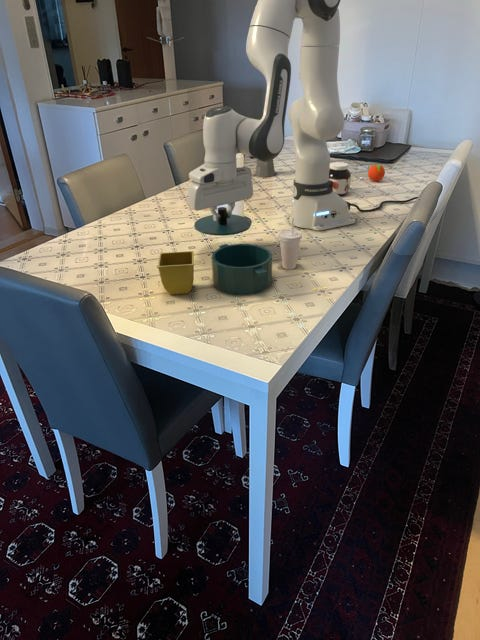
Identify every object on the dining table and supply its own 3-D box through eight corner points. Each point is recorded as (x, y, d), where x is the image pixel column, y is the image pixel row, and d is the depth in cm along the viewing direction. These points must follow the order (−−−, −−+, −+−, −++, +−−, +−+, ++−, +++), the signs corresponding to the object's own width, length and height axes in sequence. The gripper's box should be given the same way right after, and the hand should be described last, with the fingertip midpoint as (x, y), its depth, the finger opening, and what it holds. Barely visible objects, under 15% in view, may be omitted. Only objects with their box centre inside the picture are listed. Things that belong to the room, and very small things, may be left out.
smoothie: (299, 271, 135) (301, 223, 128) (276, 270, 136) (277, 222, 129) (301, 262, 140) (303, 215, 133) (279, 260, 141) (280, 214, 134)
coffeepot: (276, 170, 228) (276, 129, 218) (282, 175, 220) (282, 133, 210) (243, 173, 225) (243, 132, 216) (248, 178, 217) (248, 136, 208)
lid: (233, 214, 154) (233, 196, 151) (261, 230, 142) (261, 211, 139) (185, 224, 147) (183, 205, 144) (210, 242, 135) (209, 222, 132)
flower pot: (163, 283, 131) (159, 252, 126) (196, 281, 131) (193, 250, 127) (161, 299, 123) (157, 266, 119) (196, 297, 124) (193, 264, 119)
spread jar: (336, 199, 189) (338, 168, 183) (313, 192, 197) (315, 163, 191) (355, 192, 196) (358, 162, 190) (333, 186, 204) (335, 158, 197)
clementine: (386, 184, 205) (388, 166, 202) (369, 184, 205) (371, 167, 202) (381, 178, 212) (383, 162, 208) (365, 179, 212) (367, 162, 209)
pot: (247, 260, 142) (247, 236, 138) (289, 289, 126) (289, 262, 122) (199, 273, 135) (197, 248, 132) (236, 305, 120) (235, 277, 116)
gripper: (244, 163, 143) (245, 209, 150) (183, 174, 133) (187, 223, 140) (257, 167, 139) (257, 214, 146) (195, 179, 129) (198, 229, 136)
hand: (222, 218), depth 143 cm, fingers closed on lid, 2 cm apart
